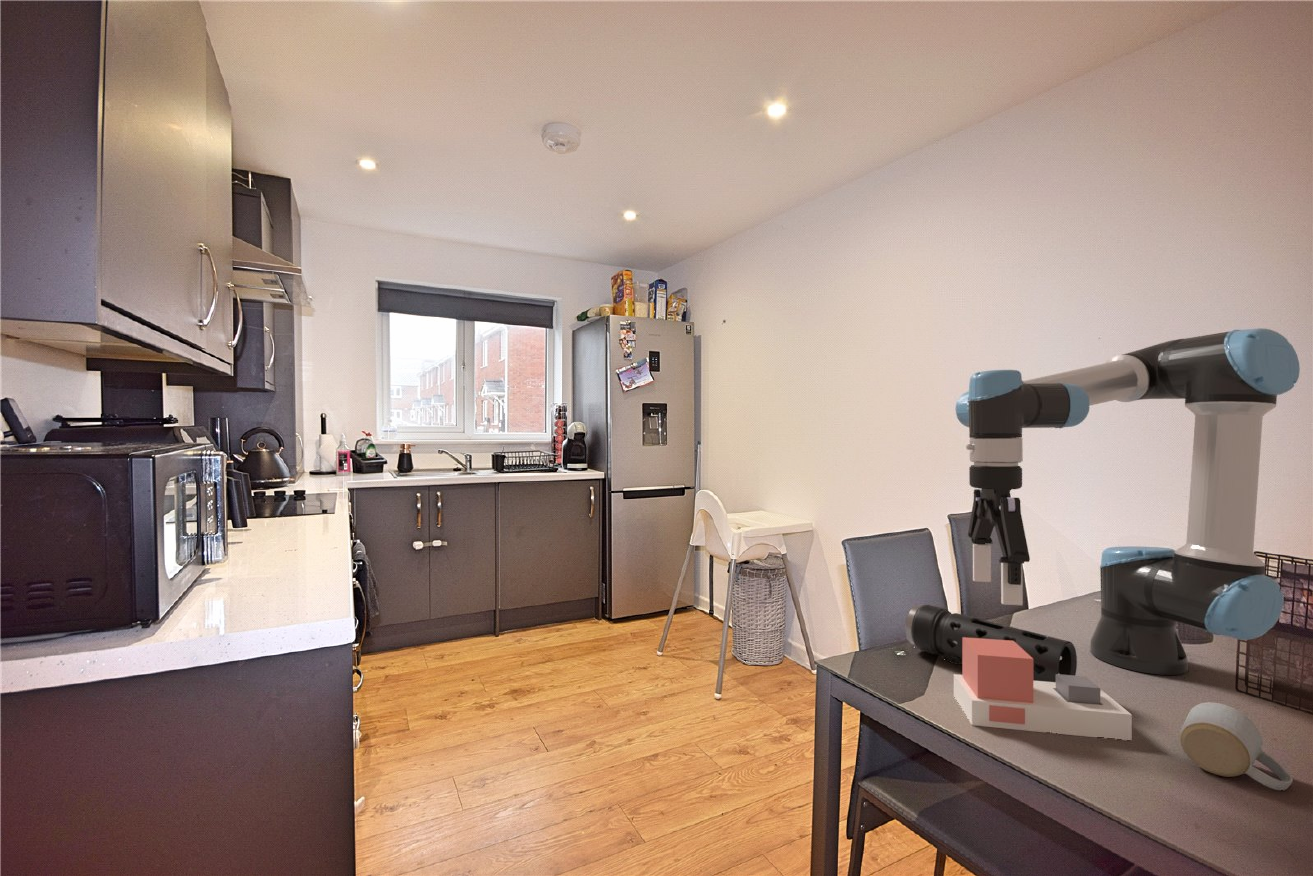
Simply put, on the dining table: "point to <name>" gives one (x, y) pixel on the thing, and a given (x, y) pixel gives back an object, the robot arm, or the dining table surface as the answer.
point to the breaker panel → (1046, 713)
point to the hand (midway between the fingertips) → (995, 592)
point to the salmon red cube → (997, 669)
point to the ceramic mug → (1228, 745)
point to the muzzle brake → (946, 630)
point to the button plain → (1077, 689)
